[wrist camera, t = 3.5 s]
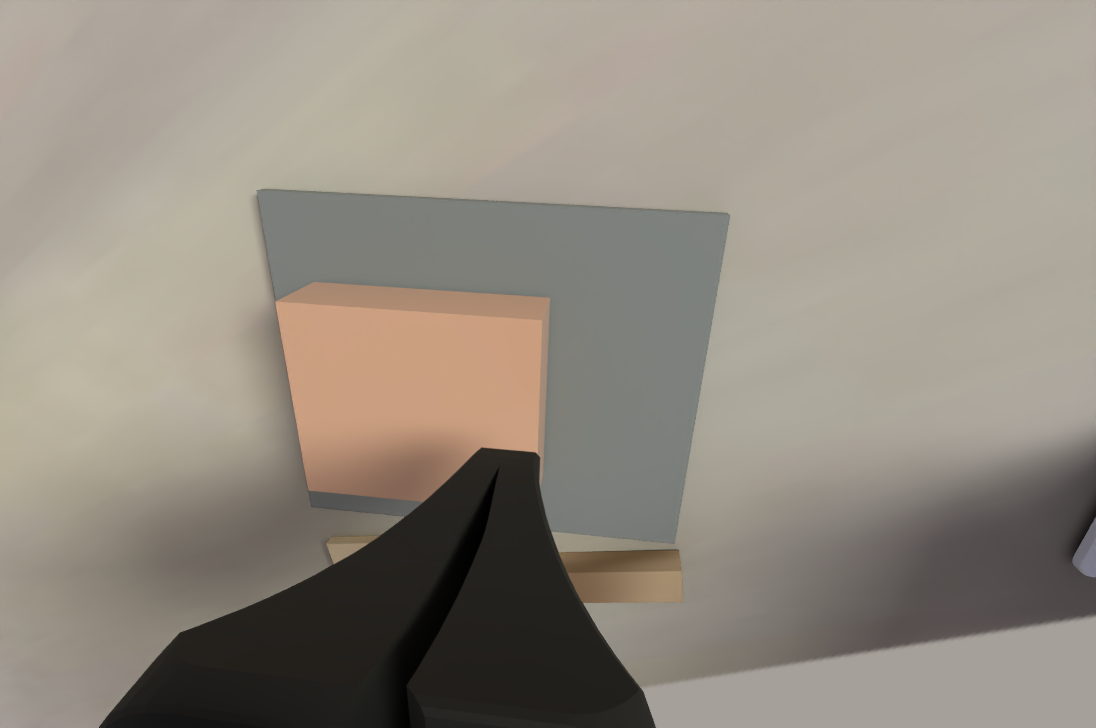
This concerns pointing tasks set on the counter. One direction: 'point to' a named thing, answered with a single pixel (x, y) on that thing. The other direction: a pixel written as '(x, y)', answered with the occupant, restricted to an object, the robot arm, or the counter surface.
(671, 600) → the wooden cleaver
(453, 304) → the tile
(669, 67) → the counter surface
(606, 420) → the mat
